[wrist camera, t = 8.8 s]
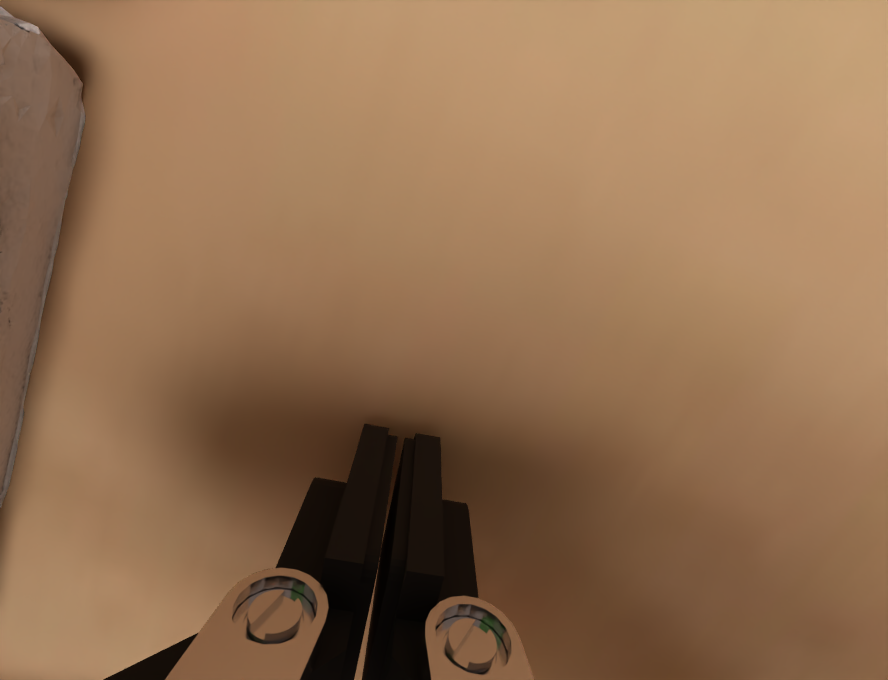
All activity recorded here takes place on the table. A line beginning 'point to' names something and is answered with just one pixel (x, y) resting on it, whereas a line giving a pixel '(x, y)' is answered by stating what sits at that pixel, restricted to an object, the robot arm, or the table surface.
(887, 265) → the table surface
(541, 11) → the table surface
